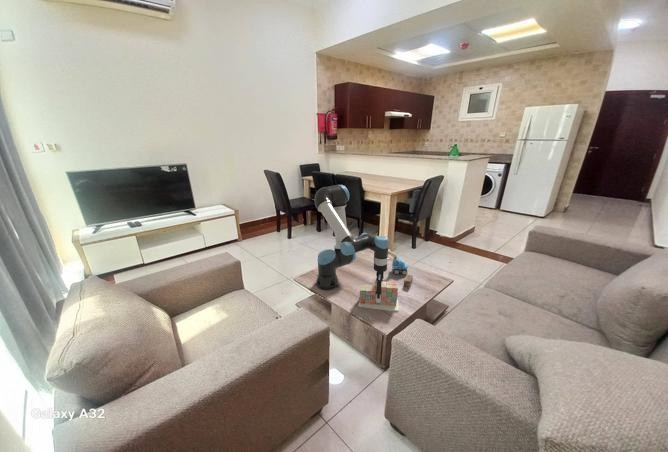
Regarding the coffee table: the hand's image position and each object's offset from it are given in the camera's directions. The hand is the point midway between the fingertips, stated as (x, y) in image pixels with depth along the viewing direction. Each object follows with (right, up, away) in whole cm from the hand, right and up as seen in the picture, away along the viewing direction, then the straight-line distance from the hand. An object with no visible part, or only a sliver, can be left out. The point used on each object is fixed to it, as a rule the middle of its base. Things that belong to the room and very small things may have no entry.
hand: (378, 295), depth 150 cm
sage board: (0, -6, +2) cm, 6 cm away
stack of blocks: (0, -5, +3) cm, 5 cm away
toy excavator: (+19, +7, +36) cm, 41 cm away
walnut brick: (+23, +2, +21) cm, 31 cm away
